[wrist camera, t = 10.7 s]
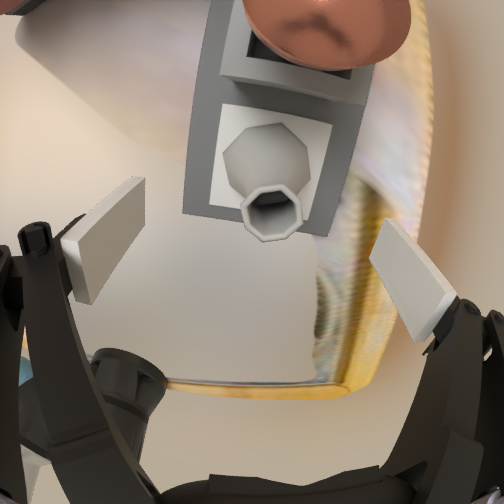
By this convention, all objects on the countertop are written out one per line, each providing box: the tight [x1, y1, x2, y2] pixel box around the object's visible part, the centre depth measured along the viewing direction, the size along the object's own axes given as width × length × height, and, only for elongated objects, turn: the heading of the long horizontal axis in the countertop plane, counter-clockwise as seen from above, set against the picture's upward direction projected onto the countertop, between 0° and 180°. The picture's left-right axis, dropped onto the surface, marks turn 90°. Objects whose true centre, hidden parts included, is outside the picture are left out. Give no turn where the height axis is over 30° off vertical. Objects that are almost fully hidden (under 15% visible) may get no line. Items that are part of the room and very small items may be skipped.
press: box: [182, 0, 375, 237], centre depth 17 cm, size 22×14×10 cm, turn 171°
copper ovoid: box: [242, 0, 411, 71], centre depth 9 cm, size 6×6×8 cm
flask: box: [222, 122, 311, 242], centre depth 18 cm, size 7×7×10 cm
